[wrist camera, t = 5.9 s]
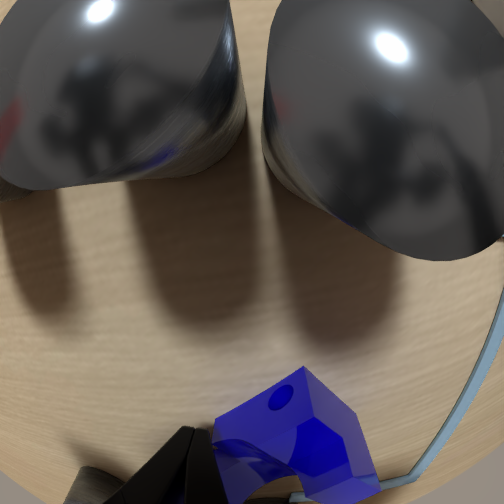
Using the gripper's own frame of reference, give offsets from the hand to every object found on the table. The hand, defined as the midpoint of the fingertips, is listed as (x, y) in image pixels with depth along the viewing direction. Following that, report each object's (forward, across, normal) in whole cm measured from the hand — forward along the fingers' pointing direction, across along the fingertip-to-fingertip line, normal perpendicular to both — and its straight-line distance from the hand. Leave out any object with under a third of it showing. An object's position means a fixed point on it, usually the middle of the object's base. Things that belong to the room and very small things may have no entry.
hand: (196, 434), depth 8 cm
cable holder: (+2, -2, +2) cm, 3 cm away
